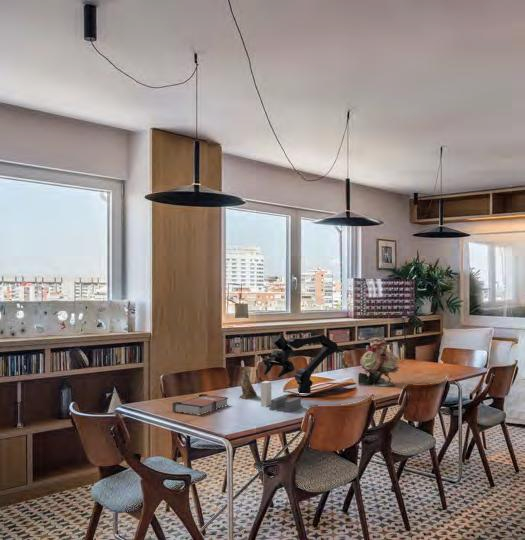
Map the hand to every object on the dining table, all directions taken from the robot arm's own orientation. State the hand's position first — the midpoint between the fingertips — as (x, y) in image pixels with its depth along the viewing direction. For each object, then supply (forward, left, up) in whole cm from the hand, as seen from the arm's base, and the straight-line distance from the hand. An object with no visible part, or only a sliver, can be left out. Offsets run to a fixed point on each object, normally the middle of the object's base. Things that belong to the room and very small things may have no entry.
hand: (271, 375), depth 310 cm
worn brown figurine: (+9, -17, -15) cm, 24 cm away
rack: (-3, +17, -14) cm, 23 cm away
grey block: (+5, +7, -15) cm, 17 cm away
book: (+39, +4, -15) cm, 42 cm away
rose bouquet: (-81, -33, -15) cm, 89 cm away
